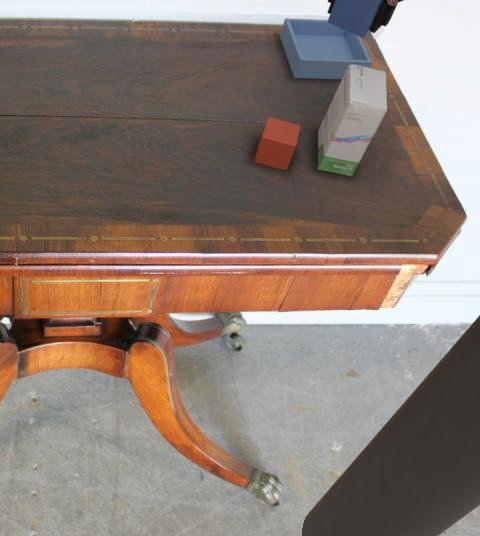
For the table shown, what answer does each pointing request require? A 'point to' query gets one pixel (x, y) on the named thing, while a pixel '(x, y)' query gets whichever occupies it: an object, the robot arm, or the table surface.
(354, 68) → the ink box
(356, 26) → the blue block
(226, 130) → the table surface
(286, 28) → the blue bin
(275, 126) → the red block
